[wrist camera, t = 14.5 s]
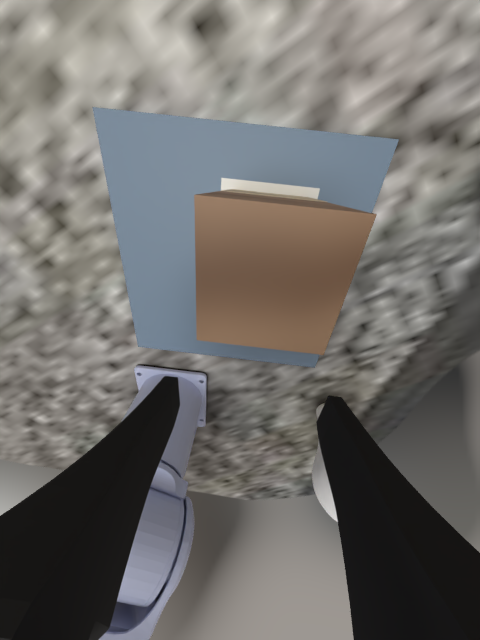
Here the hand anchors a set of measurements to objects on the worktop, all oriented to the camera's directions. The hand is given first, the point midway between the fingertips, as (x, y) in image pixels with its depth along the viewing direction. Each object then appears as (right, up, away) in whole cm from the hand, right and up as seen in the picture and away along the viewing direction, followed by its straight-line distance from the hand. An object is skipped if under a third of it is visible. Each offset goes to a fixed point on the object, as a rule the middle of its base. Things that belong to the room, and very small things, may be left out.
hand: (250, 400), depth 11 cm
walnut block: (+1, +8, +1) cm, 8 cm away
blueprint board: (-1, +8, +7) cm, 11 cm away
